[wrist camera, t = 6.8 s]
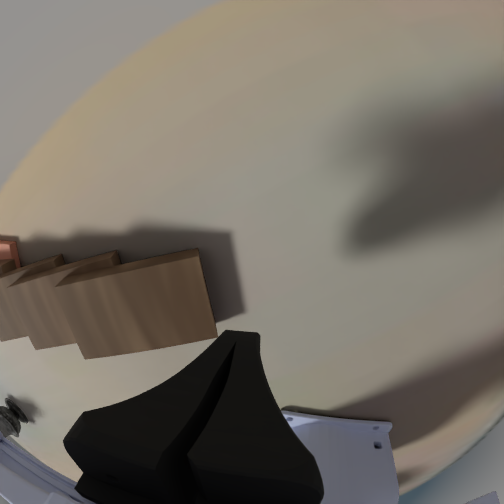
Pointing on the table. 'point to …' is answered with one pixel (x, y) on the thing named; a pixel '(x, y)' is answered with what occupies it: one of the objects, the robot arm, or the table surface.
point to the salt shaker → (11, 419)
